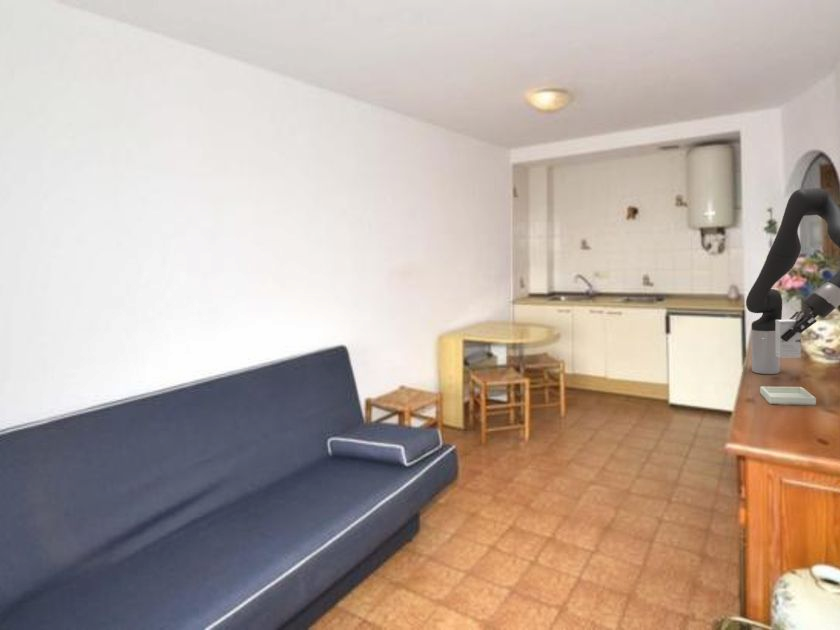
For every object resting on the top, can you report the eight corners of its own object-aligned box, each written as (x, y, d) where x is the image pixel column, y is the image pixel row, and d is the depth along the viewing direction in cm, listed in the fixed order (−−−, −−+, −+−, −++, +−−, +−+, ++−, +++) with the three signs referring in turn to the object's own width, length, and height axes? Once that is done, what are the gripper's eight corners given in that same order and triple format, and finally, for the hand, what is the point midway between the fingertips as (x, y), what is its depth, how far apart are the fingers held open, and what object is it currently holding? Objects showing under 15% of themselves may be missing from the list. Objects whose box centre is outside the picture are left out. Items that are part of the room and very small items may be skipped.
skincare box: (780, 358, 168) (779, 321, 167) (775, 355, 172) (774, 319, 171) (802, 357, 166) (801, 320, 165) (796, 355, 171) (796, 318, 170)
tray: (760, 393, 179) (760, 386, 179) (801, 394, 175) (801, 387, 175) (770, 404, 166) (770, 396, 166) (815, 405, 162) (815, 398, 162)
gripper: (807, 290, 172) (765, 328, 177) (823, 293, 158) (777, 333, 164) (827, 305, 170) (784, 343, 175) (844, 309, 157) (797, 350, 162)
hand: (781, 338), depth 170 cm, fingers closed on skincare box, 4 cm apart
